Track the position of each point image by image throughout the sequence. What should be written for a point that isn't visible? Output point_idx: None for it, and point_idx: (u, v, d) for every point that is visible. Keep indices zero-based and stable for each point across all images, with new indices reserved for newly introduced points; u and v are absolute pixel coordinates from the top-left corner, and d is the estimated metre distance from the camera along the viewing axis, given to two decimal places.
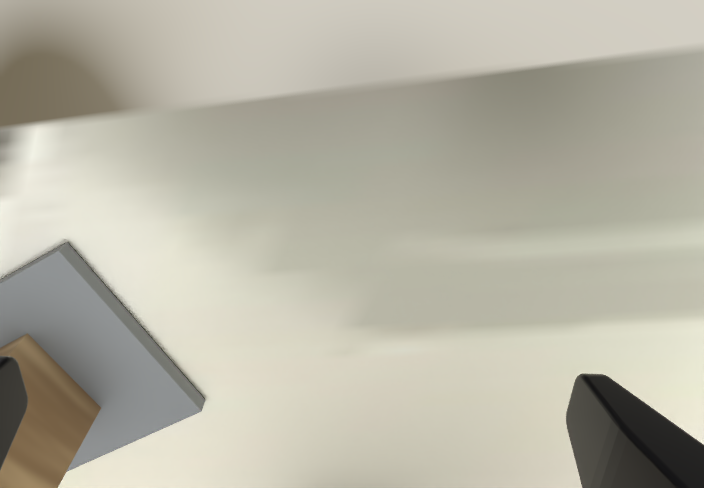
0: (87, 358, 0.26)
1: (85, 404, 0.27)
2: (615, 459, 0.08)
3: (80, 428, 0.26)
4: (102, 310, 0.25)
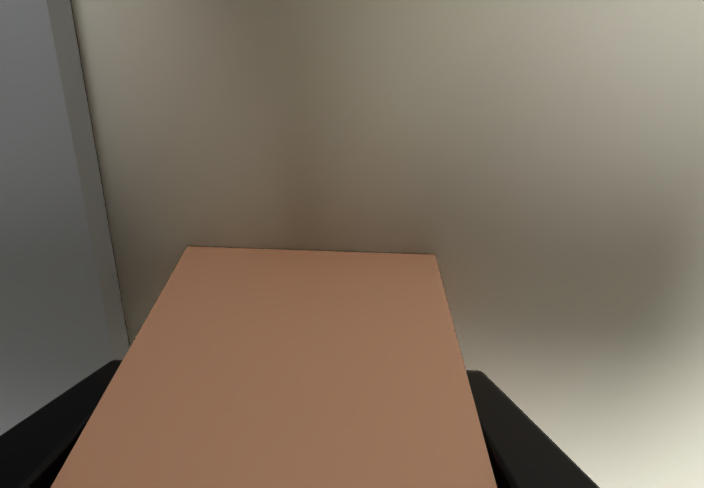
0: None
1: None
2: None
3: None
4: None
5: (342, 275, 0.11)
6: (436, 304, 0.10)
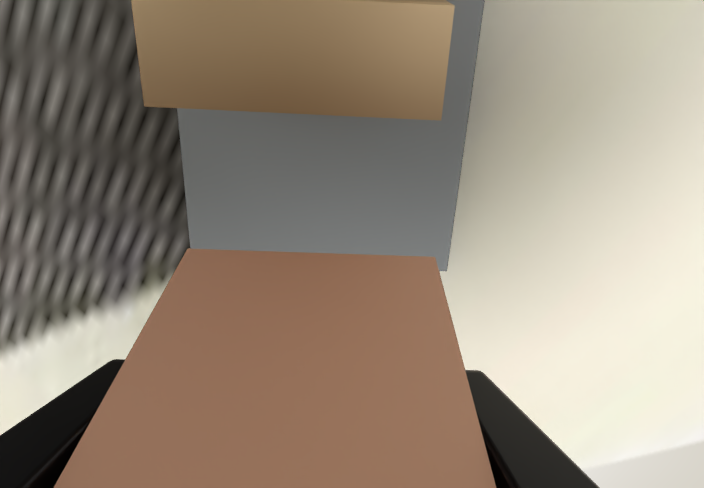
0: None
1: None
2: None
3: None
4: None
5: (342, 278, 0.11)
6: (436, 307, 0.10)
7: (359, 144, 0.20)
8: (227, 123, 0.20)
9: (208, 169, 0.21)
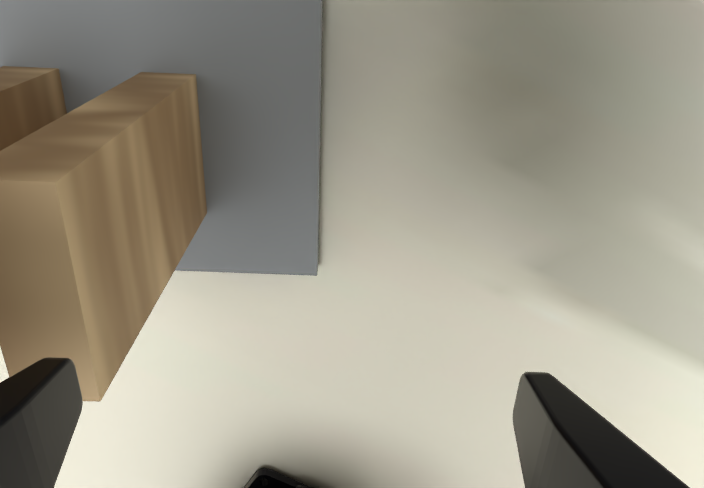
0: (241, 145, 0.20)
1: (201, 197, 0.20)
2: (550, 457, 0.08)
3: (195, 221, 0.20)
4: (309, 99, 0.19)
5: None
6: None
7: None
8: None
9: None
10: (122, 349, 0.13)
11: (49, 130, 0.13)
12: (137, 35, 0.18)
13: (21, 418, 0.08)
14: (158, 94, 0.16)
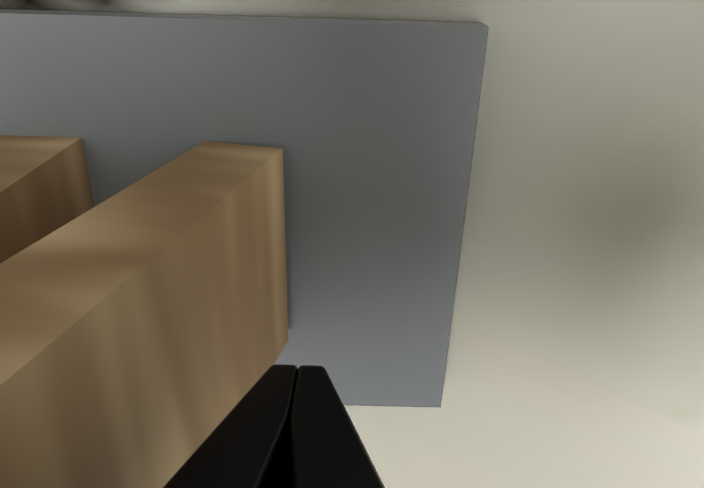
0: (347, 241, 0.14)
1: (280, 324, 0.14)
2: (289, 450, 0.08)
3: (262, 368, 0.13)
4: (454, 176, 0.13)
5: None
6: None
7: None
8: None
9: None
10: None
11: None
12: (201, 86, 0.12)
13: (287, 426, 0.08)
14: (201, 200, 0.10)
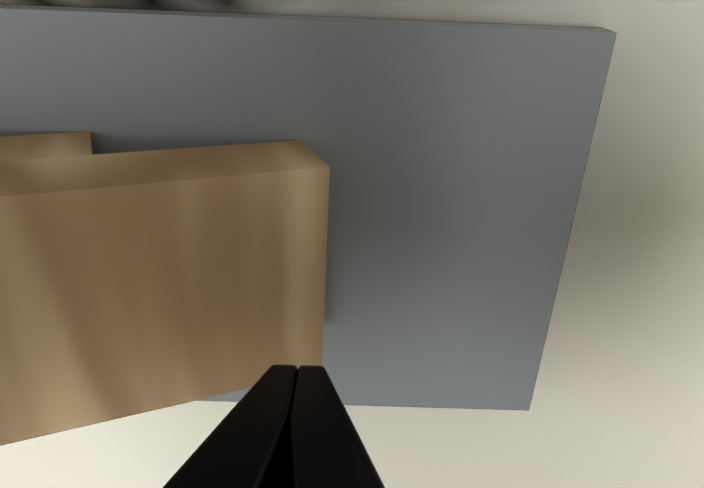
0: (453, 244, 0.14)
1: (300, 346, 0.13)
2: (289, 450, 0.08)
3: (249, 373, 0.13)
4: (567, 180, 0.13)
5: None
6: None
7: None
8: None
9: None
10: None
11: None
12: (323, 89, 0.12)
13: (287, 426, 0.08)
14: (160, 176, 0.10)
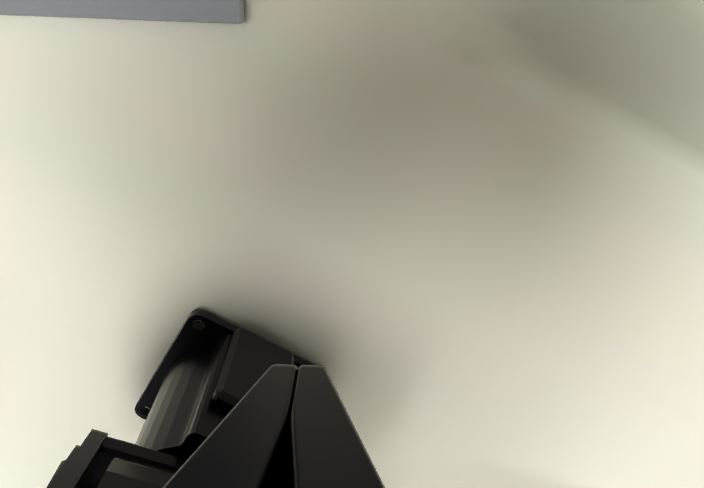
0: None
1: None
2: (289, 450, 0.08)
3: None
4: None
5: None
6: None
7: None
8: None
9: None
10: None
11: None
12: None
13: (287, 426, 0.08)
14: None
